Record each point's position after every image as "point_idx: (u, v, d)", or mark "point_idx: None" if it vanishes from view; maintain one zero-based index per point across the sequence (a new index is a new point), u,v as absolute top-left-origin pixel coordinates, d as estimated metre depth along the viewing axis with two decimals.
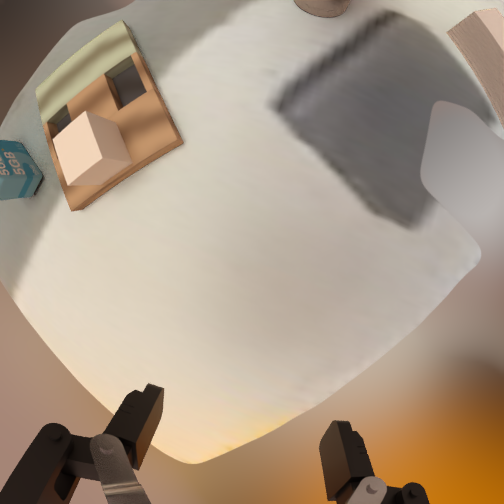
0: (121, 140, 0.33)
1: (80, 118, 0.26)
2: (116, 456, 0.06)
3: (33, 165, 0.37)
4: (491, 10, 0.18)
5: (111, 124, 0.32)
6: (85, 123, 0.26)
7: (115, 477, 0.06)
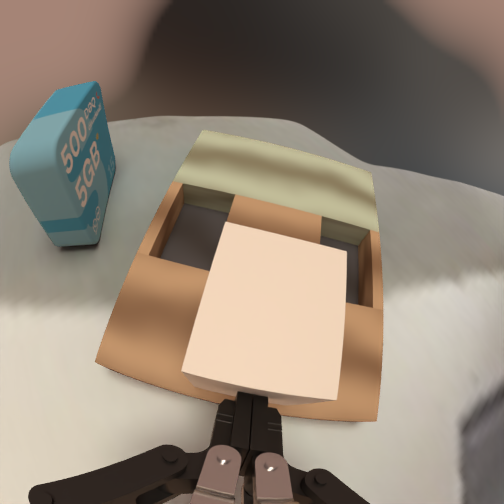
0: None
1: (327, 255, 0.13)
2: (237, 465, 0.07)
3: (101, 213, 0.24)
4: None
5: None
6: (335, 277, 0.12)
7: (215, 484, 0.06)
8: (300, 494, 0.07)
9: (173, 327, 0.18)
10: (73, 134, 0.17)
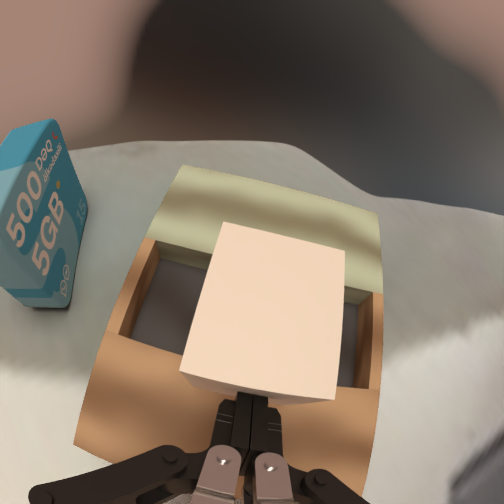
0: None
1: (325, 254, 0.13)
2: (237, 465, 0.07)
3: (70, 269, 0.21)
4: None
5: None
6: (333, 276, 0.12)
7: (215, 484, 0.06)
8: (300, 494, 0.07)
9: (147, 418, 0.14)
10: (21, 197, 0.13)
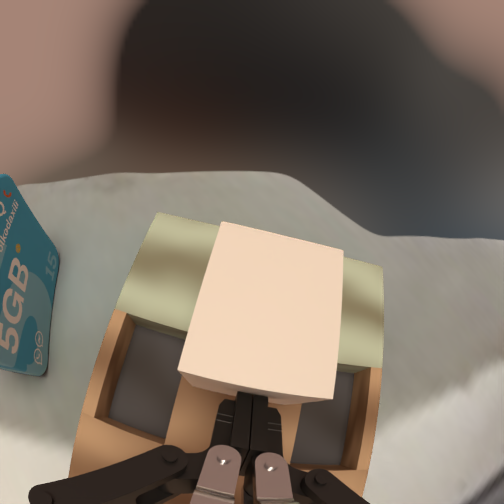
0: None
1: (324, 254, 0.13)
2: (237, 465, 0.07)
3: (44, 334, 0.18)
4: None
5: None
6: (331, 275, 0.12)
7: (215, 484, 0.06)
8: (300, 494, 0.07)
9: None
10: None
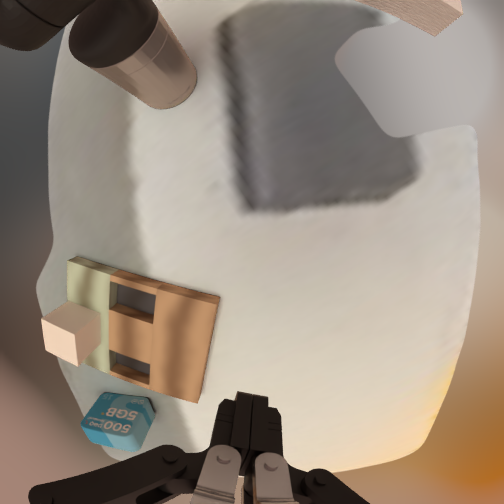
0: (81, 307, 0.40)
1: (44, 325, 0.33)
2: (237, 465, 0.07)
3: (133, 398, 0.47)
4: None
5: (66, 305, 0.39)
6: (48, 325, 0.33)
7: (215, 484, 0.06)
8: (300, 494, 0.07)
9: (176, 378, 0.42)
10: (114, 429, 0.37)
